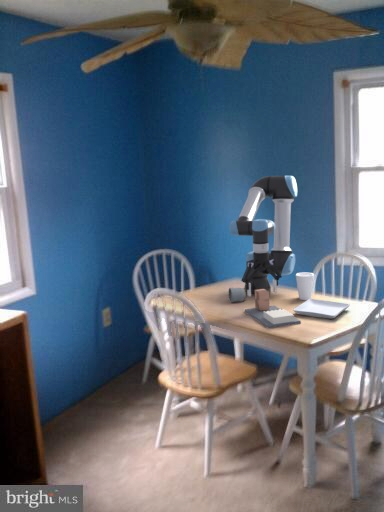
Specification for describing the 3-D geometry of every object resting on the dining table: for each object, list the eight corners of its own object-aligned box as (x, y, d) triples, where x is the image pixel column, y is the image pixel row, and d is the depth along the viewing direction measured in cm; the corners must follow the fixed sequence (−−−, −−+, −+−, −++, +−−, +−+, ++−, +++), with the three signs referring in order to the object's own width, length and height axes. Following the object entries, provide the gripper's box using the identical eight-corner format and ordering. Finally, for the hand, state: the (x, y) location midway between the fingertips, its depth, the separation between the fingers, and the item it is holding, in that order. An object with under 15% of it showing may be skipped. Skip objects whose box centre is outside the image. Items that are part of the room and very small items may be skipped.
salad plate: (335, 322, 241) (335, 315, 240) (292, 316, 253) (291, 309, 252) (350, 310, 258) (350, 303, 257) (309, 305, 270) (309, 298, 269)
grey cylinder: (246, 302, 279) (246, 288, 277) (231, 303, 277) (231, 289, 276) (241, 297, 289) (241, 284, 288) (226, 299, 288) (226, 285, 286)
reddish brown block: (255, 307, 263) (254, 289, 262) (264, 306, 265) (264, 288, 263) (260, 310, 258) (259, 292, 256) (269, 309, 259) (269, 291, 257)
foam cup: (310, 301, 275) (310, 276, 273) (293, 299, 280) (293, 275, 277) (316, 296, 283) (316, 273, 281) (299, 295, 288) (299, 271, 285)
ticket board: (244, 311, 263) (244, 303, 262) (274, 307, 267) (274, 299, 266) (268, 328, 236) (267, 318, 235) (300, 323, 241) (300, 314, 240)
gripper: (239, 255, 249) (241, 299, 254) (288, 250, 256) (288, 292, 260) (233, 253, 256) (235, 295, 261) (281, 247, 263) (282, 288, 267)
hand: (262, 294), depth 260 cm, fingers open, 13 cm apart
